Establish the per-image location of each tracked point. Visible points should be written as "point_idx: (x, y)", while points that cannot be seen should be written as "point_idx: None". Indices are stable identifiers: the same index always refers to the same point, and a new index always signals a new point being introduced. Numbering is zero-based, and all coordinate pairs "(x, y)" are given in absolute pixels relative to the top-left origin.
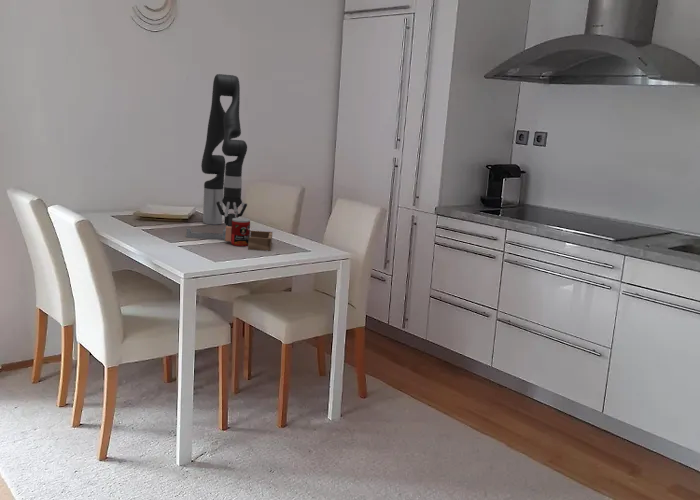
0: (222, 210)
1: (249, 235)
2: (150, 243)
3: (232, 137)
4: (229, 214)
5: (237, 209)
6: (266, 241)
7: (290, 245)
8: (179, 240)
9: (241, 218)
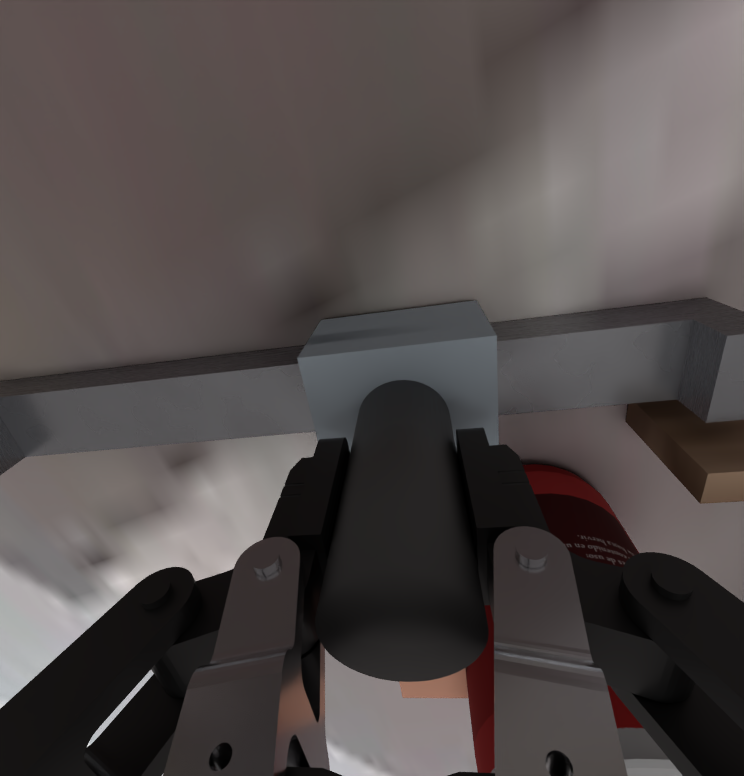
0: (131, 683)
1: (642, 332)
2: (6, 639)
3: None
4: (369, 673)
5: (604, 762)
6: None
7: None
8: (71, 540)
9: (639, 767)
